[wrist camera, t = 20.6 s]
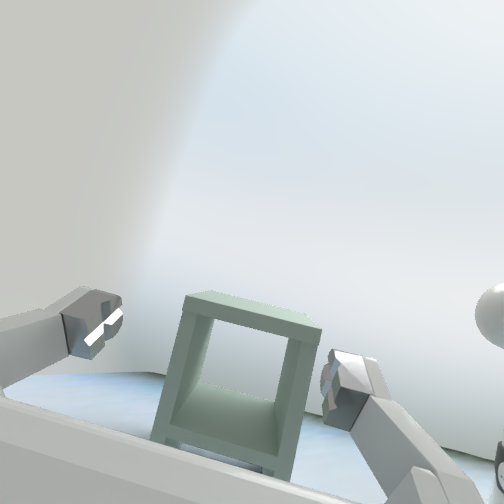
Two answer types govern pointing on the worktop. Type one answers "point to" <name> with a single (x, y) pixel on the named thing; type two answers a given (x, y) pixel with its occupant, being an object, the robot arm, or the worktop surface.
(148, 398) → the worktop surface
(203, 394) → the shelf
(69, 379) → the worktop surface
